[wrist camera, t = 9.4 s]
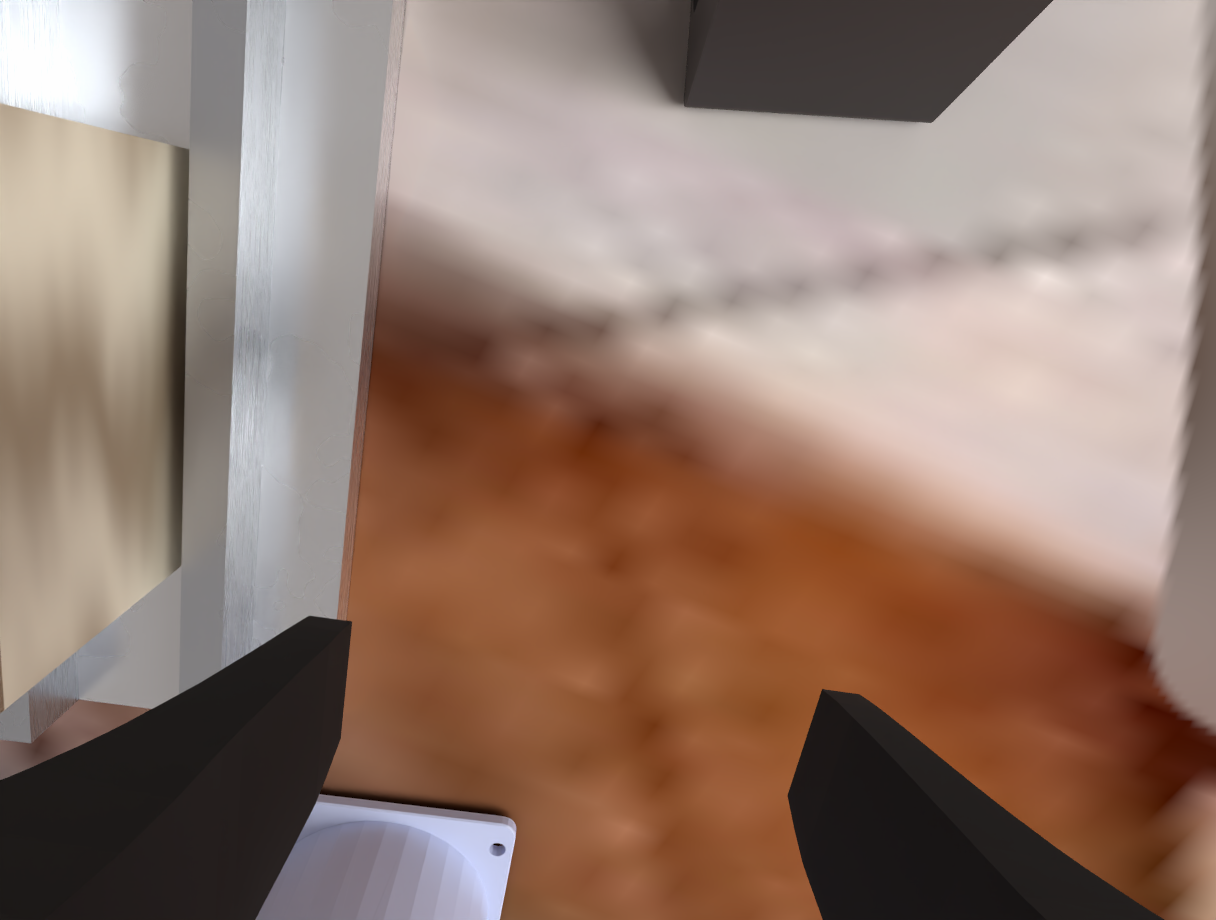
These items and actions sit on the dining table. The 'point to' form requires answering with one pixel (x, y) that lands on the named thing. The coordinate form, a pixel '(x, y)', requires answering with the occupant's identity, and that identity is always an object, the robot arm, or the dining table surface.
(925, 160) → the dining table surface
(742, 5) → the phone stand
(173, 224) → the door panel
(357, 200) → the track
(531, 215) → the dining table surface
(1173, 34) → the dining table surface
